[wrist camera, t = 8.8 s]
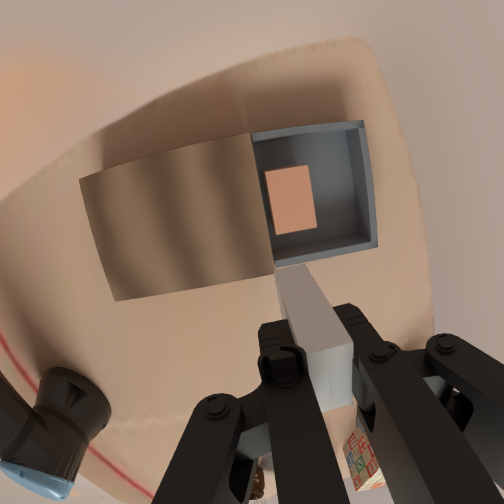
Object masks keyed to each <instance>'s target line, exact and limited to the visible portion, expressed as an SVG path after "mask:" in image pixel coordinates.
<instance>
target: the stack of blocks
mask: <svg viewBox="0 0 504 504" xmlns="http://www.w3.org/2000/svg"><path fill="white" fill-rule="evenodd" d="M343 451H344V455H345V458H346V460H347V463H348V467H349V471H350V474H351V478H352V480H353V483H354V486H355V490H356V491H363V490H368V489H372V488H377V487H381V486H383V485H384V484H385V483H386V481H385V479H384V476H383V474H382V471H381V469H380V466H379V464H378V461H377V459H376V457H375V454H374V452H373V449H372V447H371V445H370V442H369V440H368V438H367V435H366V433H365V431H364V428H363V426H362V424H361V422H360V427H358V428H356V430H355V431H354V433H353V434H352V435H351V437H350V438H349V440H348V441H347V443H346V444H345V446H344V447H343Z"/></svg>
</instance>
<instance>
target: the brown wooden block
mask: <svg viewBox="0 0 504 504" xmlns="http://www.w3.org/2000/svg"><path fill="white" fill-rule="evenodd" d="M79 183H80V187H81V192H82V196H83V200H84V204H85V208H86V212H87V216H88V220H89V223H90V227H91V231H92V234H93V237H94V241H95V244H96V247H97V251H98V254H99V257H100V260H101V263H102V266H103V269H104V272H105V275H106V278H107V281H108V283H109V286H110V289H111V292H112V294H113V297H114V300H115V302H116V301H123V300H129V299H135V298H141V297H148V296H154V295H160V294H166V293H172V292H177V291H183V290H189V289H195V288H200V287H206V286H212V285H217V284H223V283H228V282H234V281H239V280H244V279H250V278H255V277H260V276H266V275H271V274H274V270H275V267H274V261H273V255H272V249H271V244H270V238H269V232H268V227H267V221H266V216H265V210H264V205H263V200H262V194H261V189H260V183H259V178H258V173H257V168H256V162H255V157H254V152H253V147H252V142H251V137H250V133H245V134H239V135H234V136H229V137H224V138H219V139H215V140H210V141H206V142H201V143H197V144H193V145H189V146H184V147H180V148H177V149H173V150H169V151H165V152H161V153H158V154H154V155H151V156H147V157H144V158H140V159H137V160H134V161H131V162H127V163H124V164H121V165H118V166H115V167H112V168H109V169H106V170H103V171H100V172H97V173H94V174H92V175H89V176H86V177H83V178H81V179H79Z"/></svg>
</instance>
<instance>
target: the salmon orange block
mask: <svg viewBox="0 0 504 504" xmlns="http://www.w3.org/2000/svg"><path fill="white" fill-rule="evenodd" d="M261 175H262V180H263V185H264V191H265V196H266V202H267V207H268V213H269V218H270V223H271V225H272V227H273V229H274V231H275V233H276V235H279V234H284V233H289V232H295V231H300V230H305V229H311V228H316V227H317V223H316V216H315V209H314V202H313V195H312V188H311V182H310V176H309V169H308V165H301V164H293V165H287V166H281V167H275V168H269V169H263V170H261Z"/></svg>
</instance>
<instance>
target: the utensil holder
mask: <svg viewBox="0 0 504 504" xmlns="http://www.w3.org/2000/svg"><path fill="white" fill-rule="evenodd" d="M264 487H265V483H264V473H263V470H262V469H260V468H258V467H257V469H256V473H255V478H254V482H253V486H252V491H251V495H250V499H249V500H257V499H260V498H261V499H262V497H263V495H264V491H263V490H264ZM263 500H264V499H263ZM257 501H258V500H257Z"/></svg>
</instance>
